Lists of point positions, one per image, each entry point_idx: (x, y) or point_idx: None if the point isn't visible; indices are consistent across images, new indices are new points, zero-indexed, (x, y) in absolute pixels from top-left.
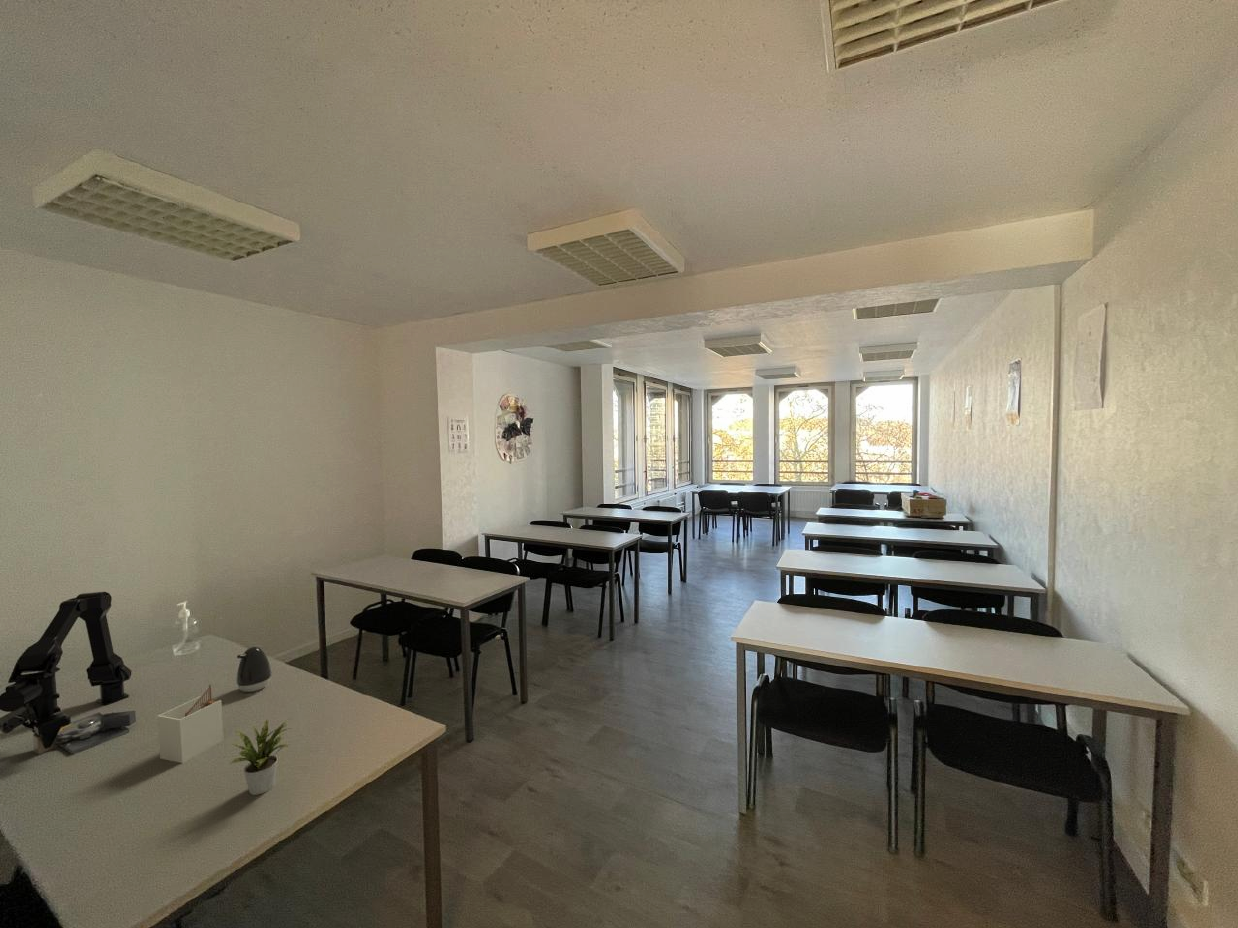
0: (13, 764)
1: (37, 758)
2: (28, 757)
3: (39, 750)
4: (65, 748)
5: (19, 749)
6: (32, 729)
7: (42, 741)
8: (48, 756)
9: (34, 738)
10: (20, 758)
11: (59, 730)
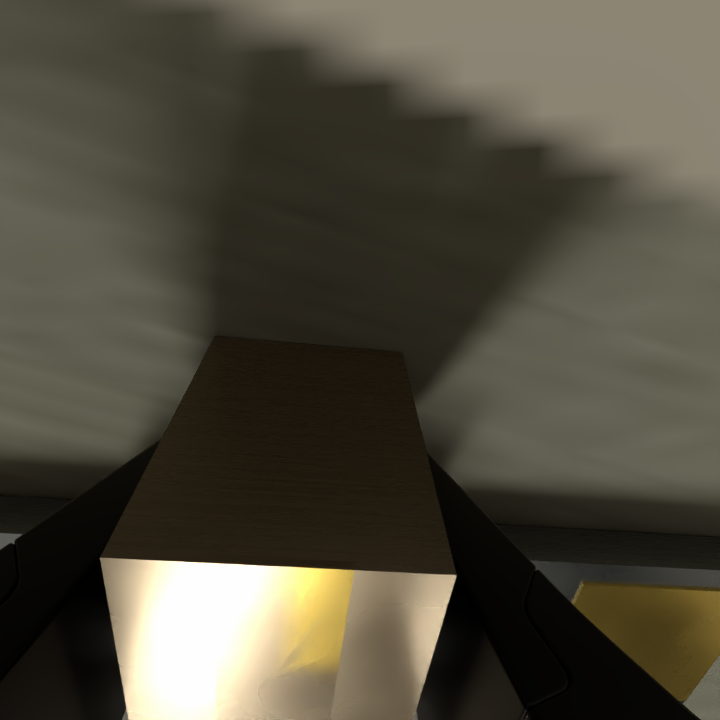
0: (208, 40)
1: (81, 283)
2: (261, 249)
3: (199, 375)
4: (33, 508)
5: (702, 306)
6: (618, 700)
7: (102, 506)
8: (6, 361)
9: (341, 506)
10: (352, 189)
11: (607, 633)
